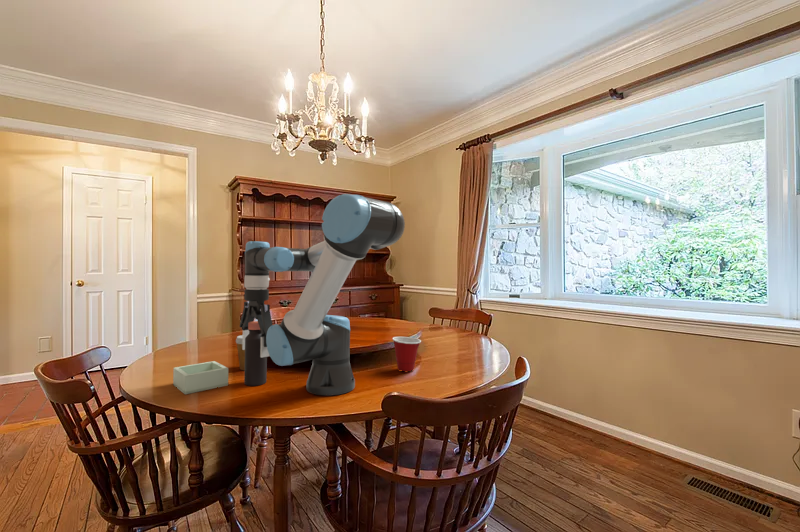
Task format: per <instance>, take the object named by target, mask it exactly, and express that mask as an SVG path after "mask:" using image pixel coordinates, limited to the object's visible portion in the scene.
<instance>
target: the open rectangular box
mask: <svg viewBox="0 0 800 532" xmlns="http://www.w3.org/2000/svg"><path fill="white" fill-rule="evenodd" d="M172 368H173V379H172V381H173V382H172V386H174V387H175V388H176V387H177V390H179V391H180V392H181V393H183V394H184V395H189V394H190V395H191V394H195V393H198V392H203V391H206V390H207V391H208V390H212V389H216V388H217V387H218V388H222V387H226V386H228V385H229V367H227V366H225V365H224V364H221V363H219V362H218V361H215V360H213V361H206V362H200V363H193V364H188V365H183V366H175V367H172Z"/></svg>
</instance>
